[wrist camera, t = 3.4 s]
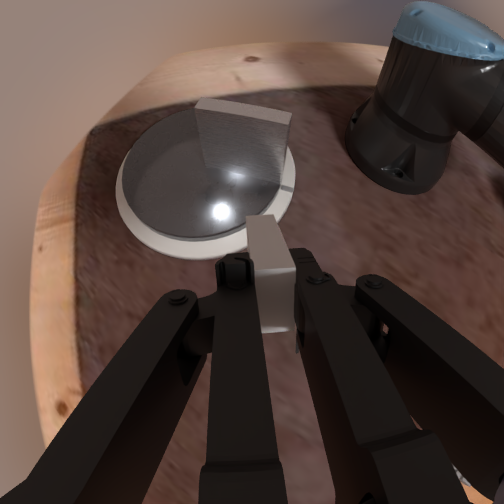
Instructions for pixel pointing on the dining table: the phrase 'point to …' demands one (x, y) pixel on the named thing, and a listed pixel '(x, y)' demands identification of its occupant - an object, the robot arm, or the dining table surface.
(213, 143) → the dial
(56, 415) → the dining table surface
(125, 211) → the dial base
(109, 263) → the dining table surface
